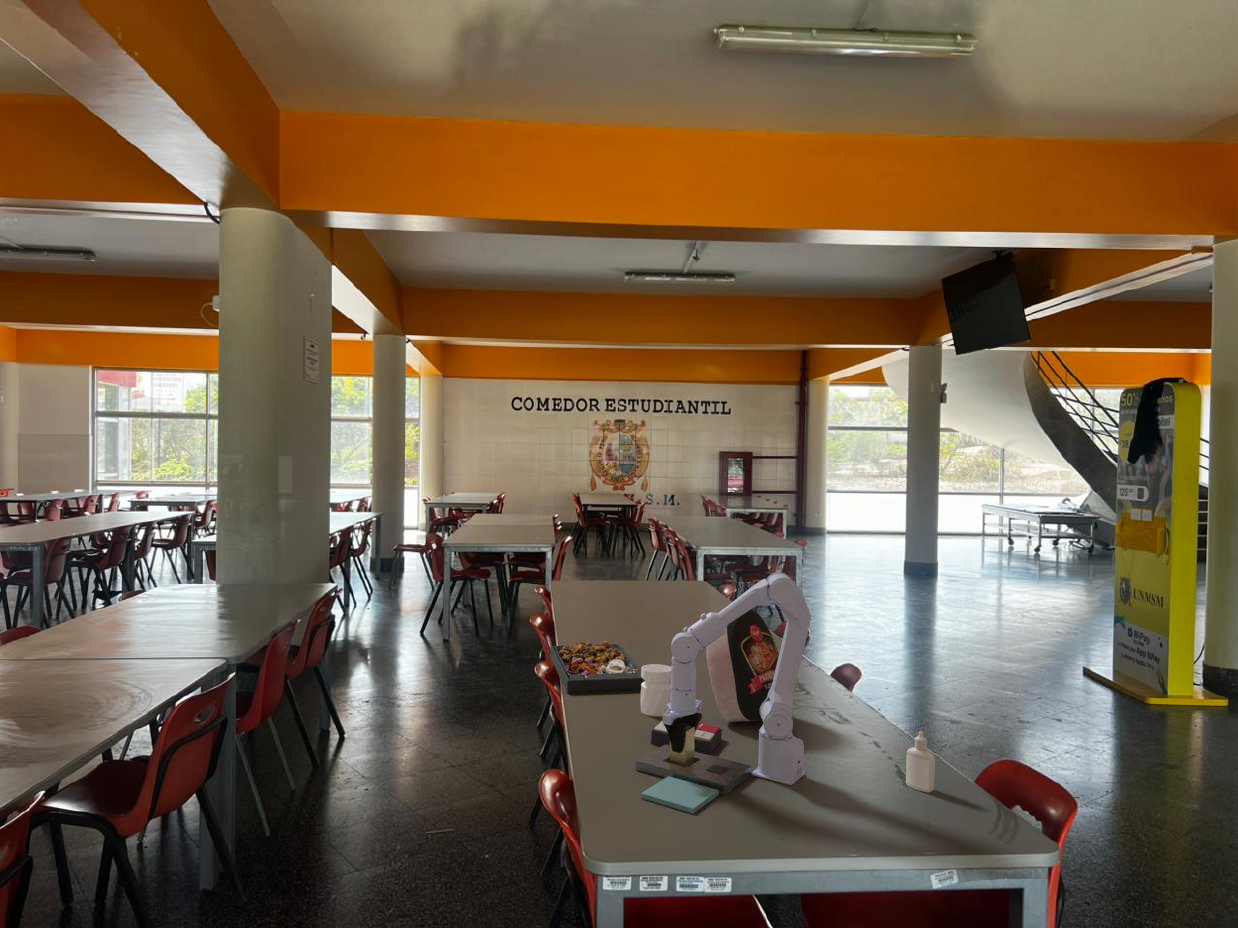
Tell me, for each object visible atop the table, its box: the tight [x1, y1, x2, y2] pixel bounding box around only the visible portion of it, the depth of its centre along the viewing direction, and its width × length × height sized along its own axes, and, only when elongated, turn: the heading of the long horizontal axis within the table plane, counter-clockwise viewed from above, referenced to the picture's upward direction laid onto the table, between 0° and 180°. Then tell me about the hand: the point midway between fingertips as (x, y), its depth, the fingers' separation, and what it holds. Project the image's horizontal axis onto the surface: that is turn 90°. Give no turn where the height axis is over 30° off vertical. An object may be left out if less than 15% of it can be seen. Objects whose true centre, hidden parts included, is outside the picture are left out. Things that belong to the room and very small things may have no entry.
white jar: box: [640, 663, 671, 717], centre depth 216 cm, size 9×9×12 cm
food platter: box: [549, 640, 645, 694], centre depth 256 cm, size 45×25×10 cm, turn 11°
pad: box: [640, 776, 720, 815], centre depth 161 cm, size 12×11×1 cm
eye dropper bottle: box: [905, 730, 936, 793], centre depth 168 cm, size 4×6×12 cm
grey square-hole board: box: [635, 744, 753, 795], centre depth 174 cm, size 22×13×2 cm, turn 56°
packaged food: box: [705, 608, 780, 723], centre depth 213 cm, size 22×20×30 cm
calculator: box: [650, 719, 723, 754], centre depth 193 cm, size 11×4×15 cm
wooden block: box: [670, 725, 695, 768], centre depth 175 cm, size 4×4×8 cm
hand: (682, 748), depth 175 cm, fingers closed on wooden block, 4 cm apart
